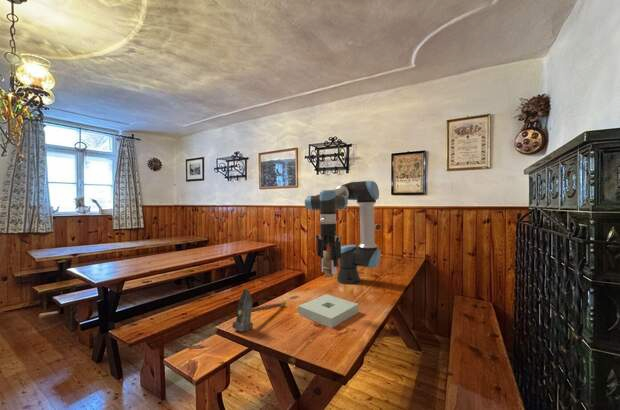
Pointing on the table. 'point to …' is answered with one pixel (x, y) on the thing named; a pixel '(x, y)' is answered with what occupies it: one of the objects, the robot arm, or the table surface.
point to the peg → (327, 263)
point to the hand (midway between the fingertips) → (329, 272)
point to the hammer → (249, 311)
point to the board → (328, 310)
